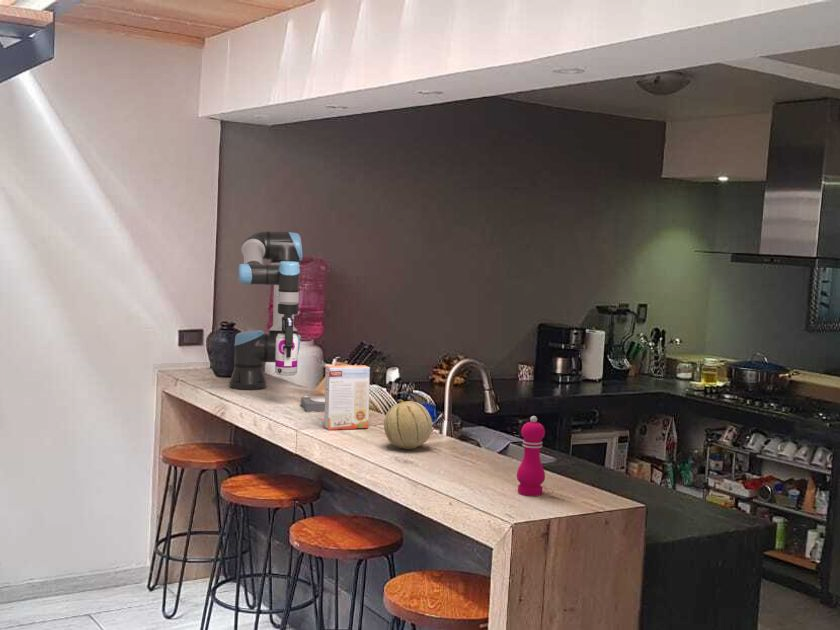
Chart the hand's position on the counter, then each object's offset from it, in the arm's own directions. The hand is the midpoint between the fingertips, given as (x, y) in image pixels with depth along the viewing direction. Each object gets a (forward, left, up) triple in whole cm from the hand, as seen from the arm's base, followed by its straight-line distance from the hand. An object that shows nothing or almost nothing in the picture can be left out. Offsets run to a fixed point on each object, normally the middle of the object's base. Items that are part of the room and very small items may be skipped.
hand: (286, 364), depth 359 cm
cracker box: (+43, +15, -16) cm, 48 cm away
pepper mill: (+129, +47, -16) cm, 139 cm away
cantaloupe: (+75, +28, -16) cm, 82 cm away
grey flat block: (+6, +14, -16) cm, 22 cm away
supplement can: (0, 0, -4) cm, 4 cm away
